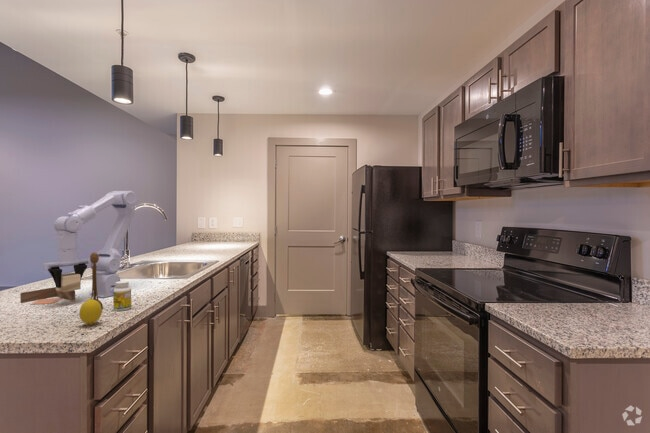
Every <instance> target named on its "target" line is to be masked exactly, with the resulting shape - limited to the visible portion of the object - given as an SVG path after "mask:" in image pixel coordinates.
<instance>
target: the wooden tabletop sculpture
mask: <svg viewBox="0 0 650 433" xmlns="http://www.w3.org/2000/svg"><path fill="white" fill-rule="evenodd" d="M89 258H90V261H91V263H93V266H92V269H91V270H92V271H91V274H92V275H91V276H92V278H91V279H92V280H91V282H92V283H91V284H92V285H91V293H92V295H90V296H91V298H90V299H93V300H96V301H98V302H99V303H100V305H101V308H102V310H103V309H104V306H103V303H102V302H101V300H99V297H98V294H97V278H96V267H97V266H96V263H97V262H98V260H99V256H98V254H97V252H92V253H91V254H90V256H89Z"/></svg>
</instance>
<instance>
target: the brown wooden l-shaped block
mask: <svg viewBox="0 0 650 433" xmlns="http://www.w3.org/2000/svg"><path fill="white" fill-rule="evenodd" d="M54 297H55V298H56V297H57V298H62V299H64V300H65V299H66V300H68V301H75V300H76V290H73V291H68V292H60V291H56V286H53V287H48V288H42V289H36V290H31V291H30V290H29V291H24V292H20V300H19V301H20V303H21V304H25V303H28V302H35V301H38V300H40V299H51V298H54Z"/></svg>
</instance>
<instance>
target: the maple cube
mask: <svg viewBox="0 0 650 433" xmlns="http://www.w3.org/2000/svg"><path fill="white" fill-rule="evenodd" d="M81 281H82V278H81V279H80V274H76V273H75V272H70V273H64V274H63V273H62V274H61V288H57V287H56V286H55V287H56V291H60V292H68V291H73V290H75V291H78V290H81V287H82V286H81Z"/></svg>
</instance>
